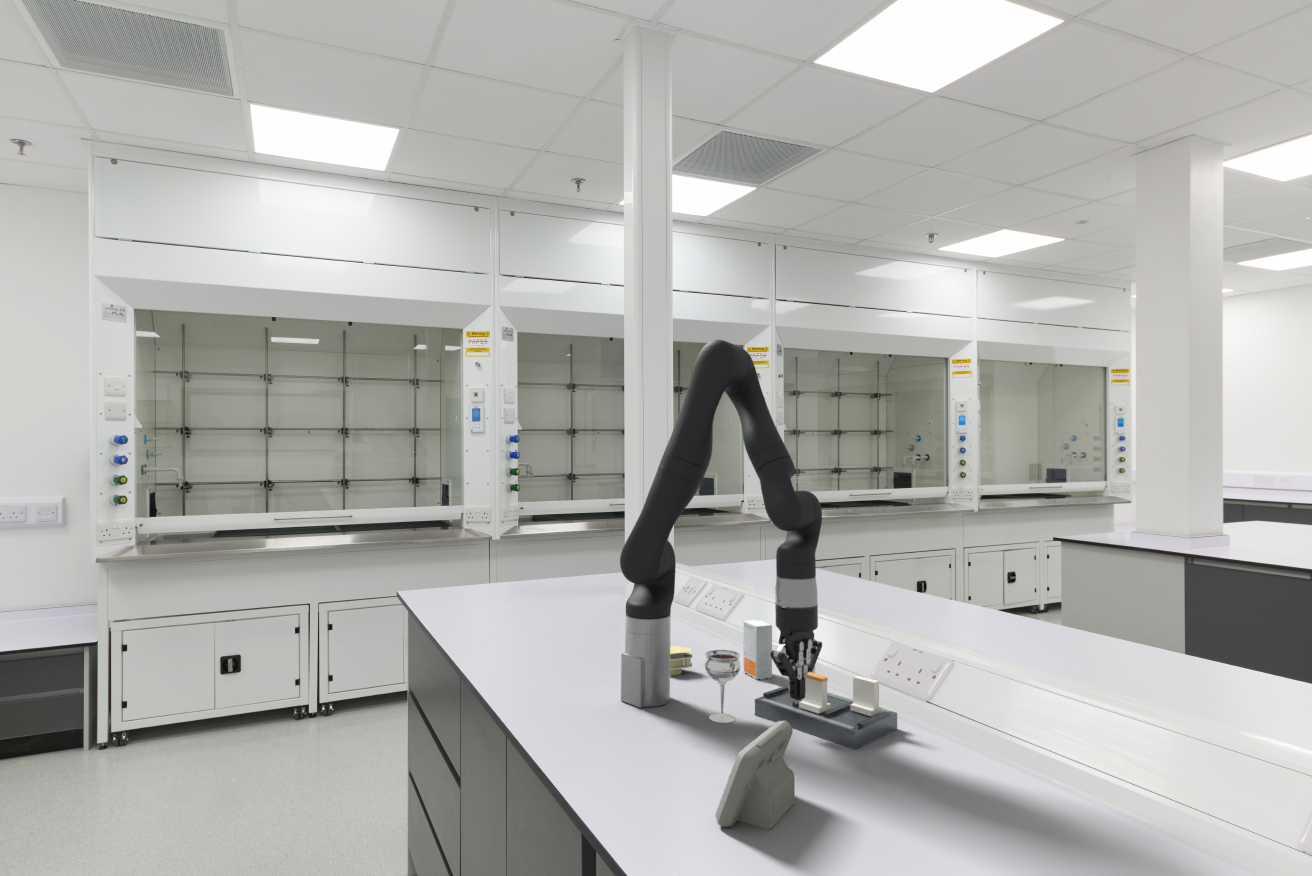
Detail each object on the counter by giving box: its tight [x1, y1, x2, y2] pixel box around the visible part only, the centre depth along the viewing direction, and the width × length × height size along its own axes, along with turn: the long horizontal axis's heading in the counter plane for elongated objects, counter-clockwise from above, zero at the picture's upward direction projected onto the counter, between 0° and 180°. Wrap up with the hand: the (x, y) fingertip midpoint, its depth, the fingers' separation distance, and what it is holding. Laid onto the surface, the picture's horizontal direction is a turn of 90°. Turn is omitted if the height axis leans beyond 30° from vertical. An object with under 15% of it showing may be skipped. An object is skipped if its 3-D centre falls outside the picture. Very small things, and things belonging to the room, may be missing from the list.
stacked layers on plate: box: [670, 645, 693, 677], centre depth 167 cm, size 10×9×6 cm
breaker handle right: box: [850, 675, 883, 716], centre depth 133 cm, size 4×4×6 cm
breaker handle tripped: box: [799, 672, 830, 714], centre depth 134 cm, size 4×4×6 cm
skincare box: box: [742, 619, 773, 680], centre depth 165 cm, size 6×4×12 cm
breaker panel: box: [754, 684, 898, 750], centre depth 136 cm, size 14×22×4 cm, turn 42°
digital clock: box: [715, 721, 796, 831], centre depth 102 cm, size 16×9×11 cm, turn 137°
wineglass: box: [704, 649, 741, 724], centre depth 138 cm, size 7×7×12 cm
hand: (797, 698), depth 130 cm, fingers closed
